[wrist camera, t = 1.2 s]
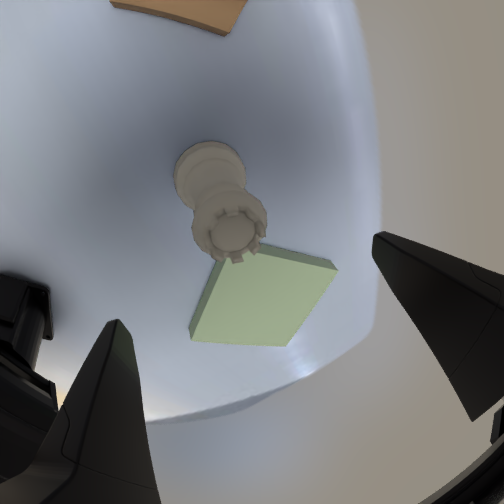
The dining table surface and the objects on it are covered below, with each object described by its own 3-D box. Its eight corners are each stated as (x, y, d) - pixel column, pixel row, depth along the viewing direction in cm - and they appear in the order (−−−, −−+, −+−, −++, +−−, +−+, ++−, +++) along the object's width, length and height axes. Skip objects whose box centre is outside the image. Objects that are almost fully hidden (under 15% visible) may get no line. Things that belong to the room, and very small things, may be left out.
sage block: (279, 332, 30) (285, 346, 28) (188, 324, 25) (190, 340, 24) (328, 257, 25) (338, 270, 24) (226, 232, 21) (231, 247, 20)
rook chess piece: (255, 173, 19) (307, 235, 12) (205, 217, 19) (229, 297, 13) (211, 124, 16) (244, 160, 10) (158, 173, 17) (154, 241, 10)
